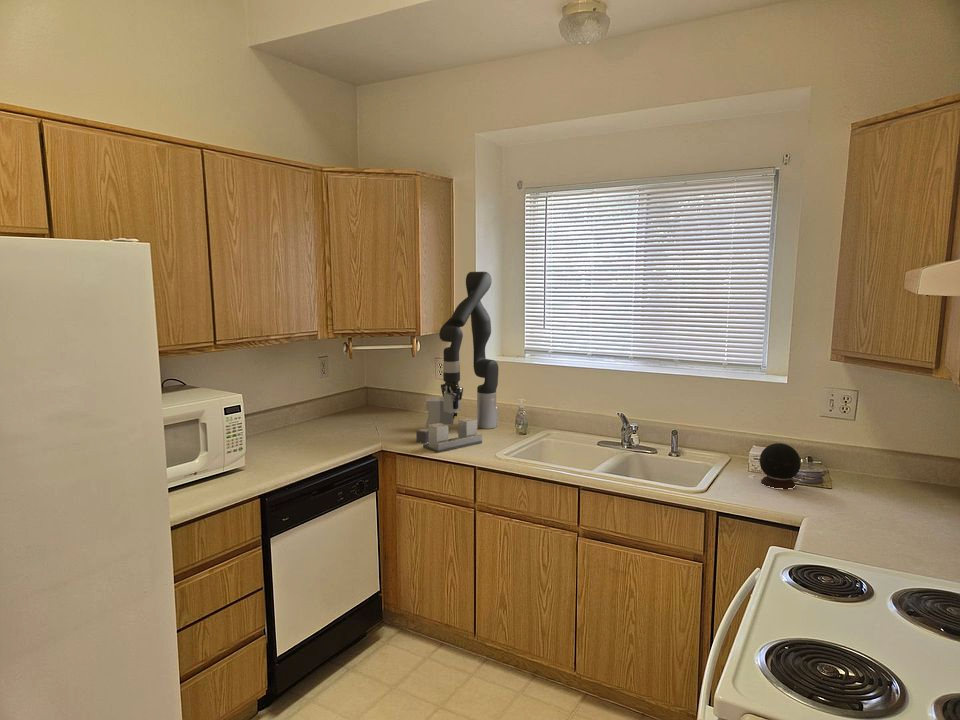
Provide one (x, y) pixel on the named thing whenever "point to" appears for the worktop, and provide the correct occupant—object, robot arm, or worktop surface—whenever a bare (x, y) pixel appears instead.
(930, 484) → the worktop surface
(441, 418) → the circuit breaker
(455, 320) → the robot arm
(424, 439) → the block
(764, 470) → the black ball on stand
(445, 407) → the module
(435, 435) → the grey slotted holder
